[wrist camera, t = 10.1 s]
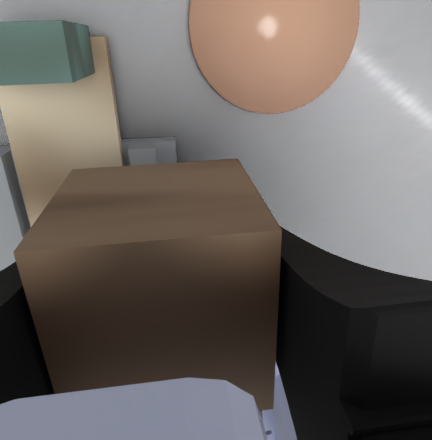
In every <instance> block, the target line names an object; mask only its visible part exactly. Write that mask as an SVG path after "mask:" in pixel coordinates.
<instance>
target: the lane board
mask: <svg viewBox="0 0 432 440" xmlns="http://www.w3.org/2000/svg"><path fill="white" fill-rule="evenodd" d="M121 143H122V150H123V158H124V165H125V166H131V165H147V164H162V163H177V155H176V141H175V136H174V137H156V138H137V139H121ZM30 228H31V225H30V221H29V217H28V213H27V209H26V205H25V201H24V197H23V194H22V190H21V186H20V182H19V178H18V174H17V170H16V166H15V162H14V159H13V155H12V151H11V147H10V145H5V146H0V271H1V270H3V269H5V268H6V267H8V266H9V265H11V264H12V263H14V262H15V261H16V260H15V257H14V254H13V252H14V250H15V249H16V248H17V246H18V245H19V243H20V242H21V241H22V239H23V238H24V236H25V235H26V234H27V232H28V231H29V229H30Z"/></svg>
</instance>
